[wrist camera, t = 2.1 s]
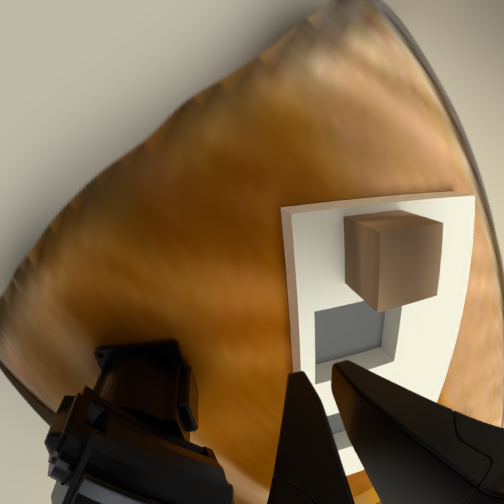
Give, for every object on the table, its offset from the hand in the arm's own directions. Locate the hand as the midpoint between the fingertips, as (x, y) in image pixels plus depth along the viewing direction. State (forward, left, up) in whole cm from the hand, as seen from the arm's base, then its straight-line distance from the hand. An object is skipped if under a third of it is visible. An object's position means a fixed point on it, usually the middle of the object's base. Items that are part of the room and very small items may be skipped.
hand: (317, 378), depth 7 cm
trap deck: (+9, -12, -12) cm, 19 cm away
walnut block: (+7, 0, -10) cm, 12 cm away
